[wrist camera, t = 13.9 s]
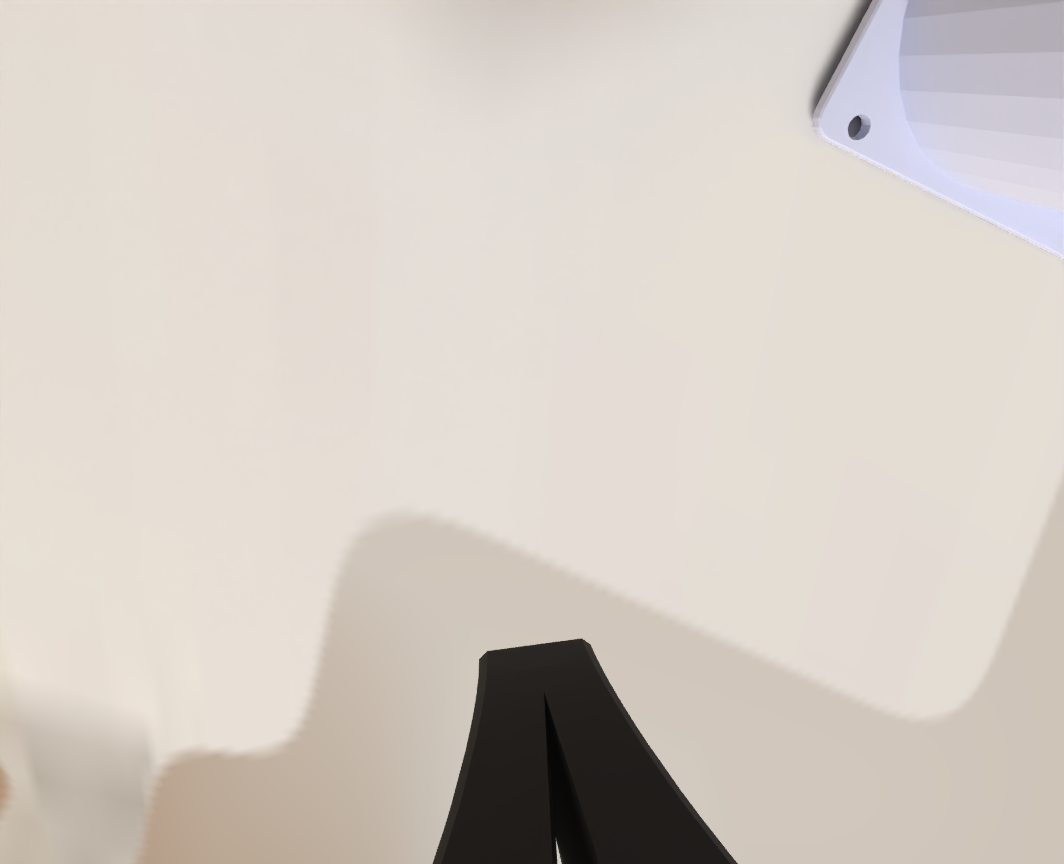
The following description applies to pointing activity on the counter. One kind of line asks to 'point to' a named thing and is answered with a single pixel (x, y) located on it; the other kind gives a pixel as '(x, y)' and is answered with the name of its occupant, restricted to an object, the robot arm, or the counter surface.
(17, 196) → the counter surface
